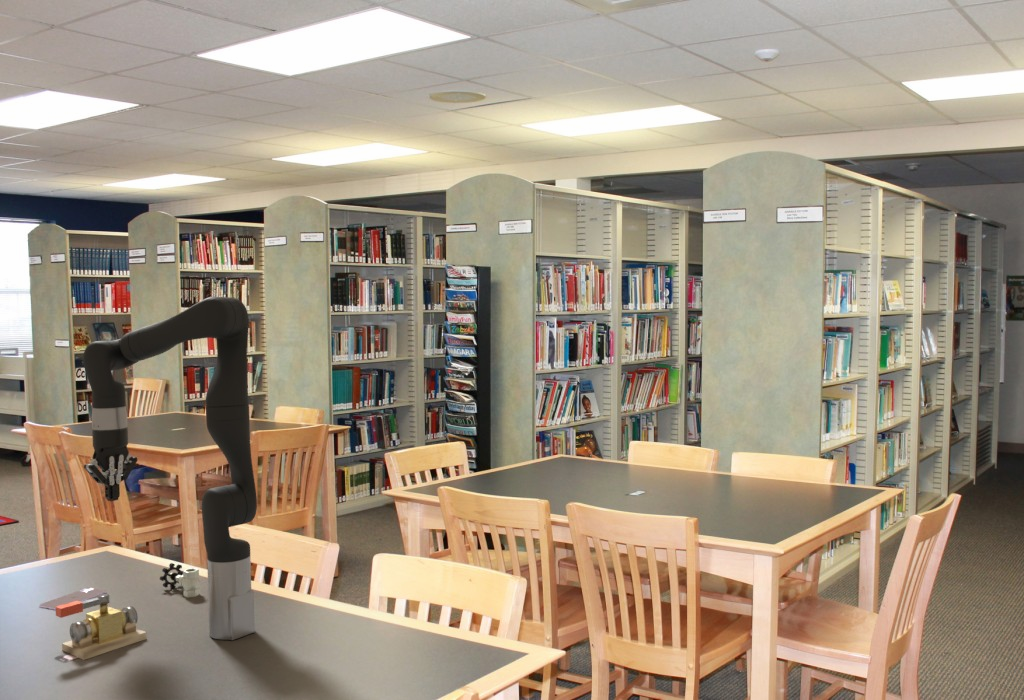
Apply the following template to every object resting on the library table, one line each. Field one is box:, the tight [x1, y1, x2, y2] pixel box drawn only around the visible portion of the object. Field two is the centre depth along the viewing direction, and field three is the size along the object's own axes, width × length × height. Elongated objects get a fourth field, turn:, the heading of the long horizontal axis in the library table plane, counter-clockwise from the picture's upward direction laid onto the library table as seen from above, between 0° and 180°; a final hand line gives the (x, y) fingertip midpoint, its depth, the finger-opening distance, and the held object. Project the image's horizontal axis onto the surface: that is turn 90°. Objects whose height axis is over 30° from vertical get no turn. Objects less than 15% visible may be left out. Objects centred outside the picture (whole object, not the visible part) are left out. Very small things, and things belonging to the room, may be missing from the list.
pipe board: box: [61, 622, 147, 660], centre depth 190 cm, size 9×14×4 cm, turn 144°
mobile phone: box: [38, 587, 108, 611], centre depth 221 cm, size 8×1×15 cm
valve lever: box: [55, 593, 111, 619], centre depth 187 cm, size 11×2×2 cm, turn 143°
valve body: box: [69, 603, 139, 644], centre depth 190 cm, size 5×13×8 cm, turn 144°
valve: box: [159, 562, 201, 598], centre depth 226 cm, size 7×7×12 cm
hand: (112, 500), depth 204 cm, fingers closed
